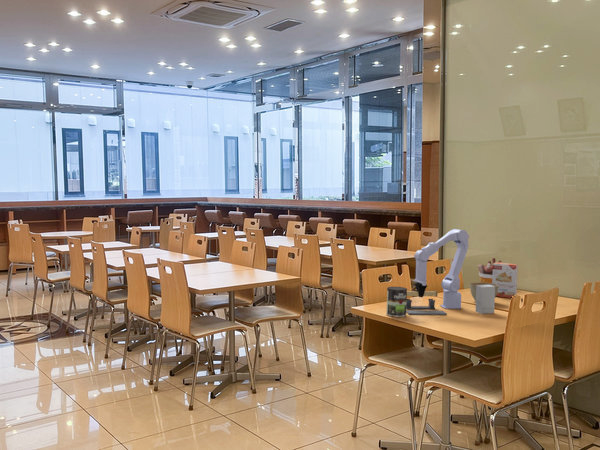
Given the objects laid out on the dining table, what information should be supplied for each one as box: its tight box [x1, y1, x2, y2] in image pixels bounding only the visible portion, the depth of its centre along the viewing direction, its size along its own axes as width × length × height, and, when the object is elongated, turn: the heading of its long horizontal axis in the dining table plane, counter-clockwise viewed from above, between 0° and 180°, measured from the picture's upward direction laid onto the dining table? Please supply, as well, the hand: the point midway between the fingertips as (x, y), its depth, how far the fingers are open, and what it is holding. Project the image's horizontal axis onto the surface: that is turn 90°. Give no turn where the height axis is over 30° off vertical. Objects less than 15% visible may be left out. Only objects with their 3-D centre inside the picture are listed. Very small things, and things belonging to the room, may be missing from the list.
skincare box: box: [475, 285, 496, 315], centre depth 305 cm, size 8×6×15 cm
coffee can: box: [385, 286, 408, 318], centre depth 295 cm, size 10×10×14 cm
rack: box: [406, 298, 436, 311], centre depth 312 cm, size 16×4×5 cm, turn 94°
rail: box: [407, 290, 438, 297], centre depth 312 cm, size 18×3×3 cm, turn 94°
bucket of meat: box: [477, 257, 502, 283], centre depth 384 cm, size 20×16×20 cm
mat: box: [406, 309, 447, 316], centre depth 300 cm, size 20×7×1 cm, turn 94°
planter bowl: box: [469, 282, 499, 303], centre depth 333 cm, size 16×16×11 cm
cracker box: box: [492, 262, 519, 299], centre depth 354 cm, size 14×6×21 cm, turn 59°
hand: (420, 296), depth 312 cm, fingers closed on rail, 2 cm apart
